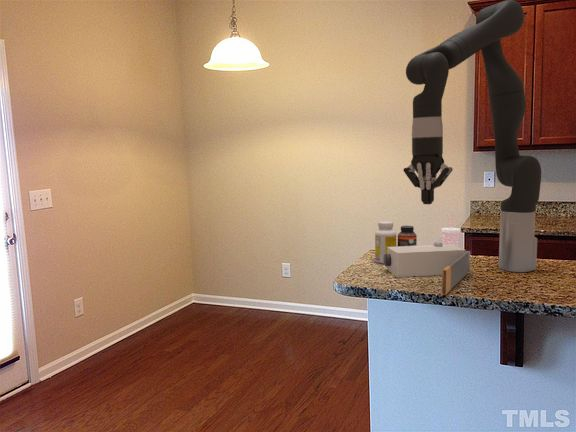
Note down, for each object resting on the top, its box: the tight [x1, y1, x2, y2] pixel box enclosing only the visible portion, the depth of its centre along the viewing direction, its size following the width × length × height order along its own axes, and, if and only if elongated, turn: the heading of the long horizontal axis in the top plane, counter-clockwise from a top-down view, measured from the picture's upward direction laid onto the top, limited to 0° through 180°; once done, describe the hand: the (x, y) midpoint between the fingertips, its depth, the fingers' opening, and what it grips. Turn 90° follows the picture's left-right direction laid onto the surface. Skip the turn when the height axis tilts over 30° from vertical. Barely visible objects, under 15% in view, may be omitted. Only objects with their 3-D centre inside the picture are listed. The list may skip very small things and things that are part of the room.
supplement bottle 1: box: [374, 220, 397, 265], centre depth 160 cm, size 7×7×13 cm
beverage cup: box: [440, 213, 461, 247], centre depth 168 cm, size 6×6×14 cm
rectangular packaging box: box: [383, 242, 466, 278], centre depth 147 cm, size 21×9×8 cm, turn 97°
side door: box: [441, 250, 471, 296], centre depth 133 cm, size 26×1×6 cm, turn 148°
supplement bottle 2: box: [396, 225, 418, 247], centre depth 161 cm, size 6×6×11 cm
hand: (427, 203), depth 130 cm, fingers closed
